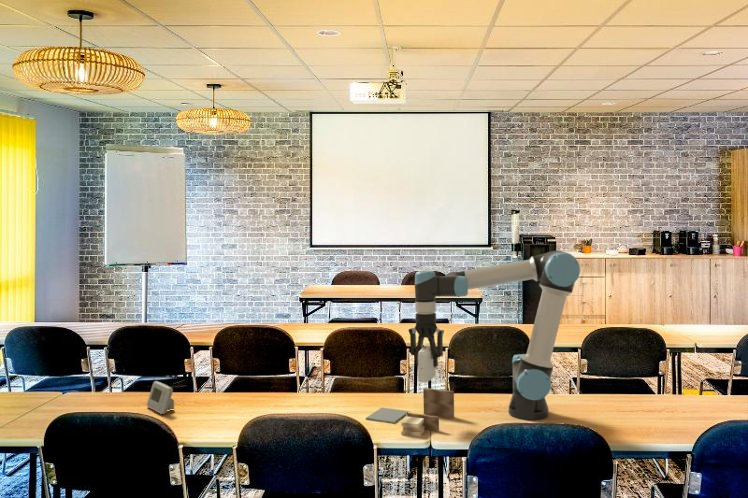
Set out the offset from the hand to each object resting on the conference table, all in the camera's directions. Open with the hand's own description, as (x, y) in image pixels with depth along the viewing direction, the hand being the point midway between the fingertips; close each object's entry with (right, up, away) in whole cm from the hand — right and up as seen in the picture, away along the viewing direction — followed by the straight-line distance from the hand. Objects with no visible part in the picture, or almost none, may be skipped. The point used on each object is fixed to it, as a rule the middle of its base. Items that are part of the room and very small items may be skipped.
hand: (427, 374), depth 228 cm
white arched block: (0, -2, 0) cm, 2 cm away
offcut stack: (-6, -19, -9) cm, 22 cm away
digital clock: (-108, -20, +23) cm, 112 cm away
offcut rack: (+2, -18, +2) cm, 18 cm away
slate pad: (-14, -18, +10) cm, 25 cm away
